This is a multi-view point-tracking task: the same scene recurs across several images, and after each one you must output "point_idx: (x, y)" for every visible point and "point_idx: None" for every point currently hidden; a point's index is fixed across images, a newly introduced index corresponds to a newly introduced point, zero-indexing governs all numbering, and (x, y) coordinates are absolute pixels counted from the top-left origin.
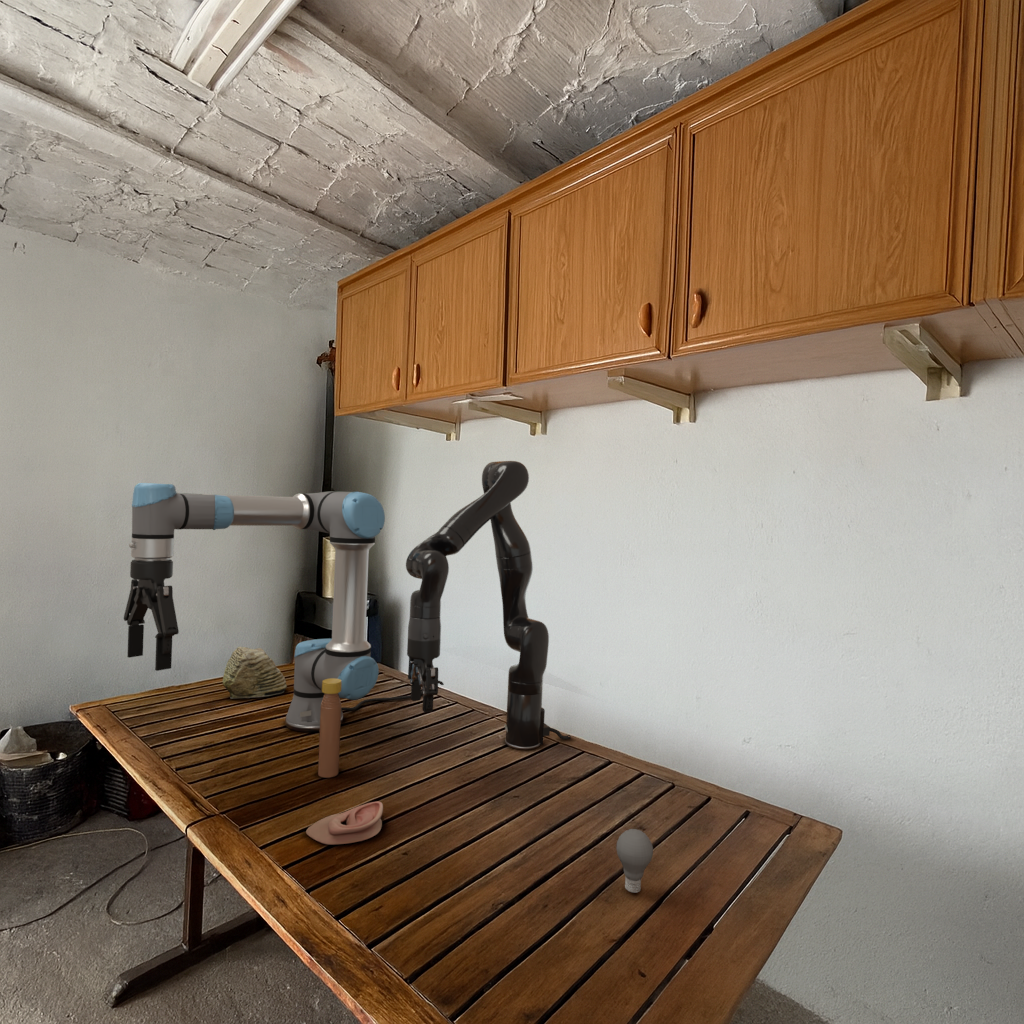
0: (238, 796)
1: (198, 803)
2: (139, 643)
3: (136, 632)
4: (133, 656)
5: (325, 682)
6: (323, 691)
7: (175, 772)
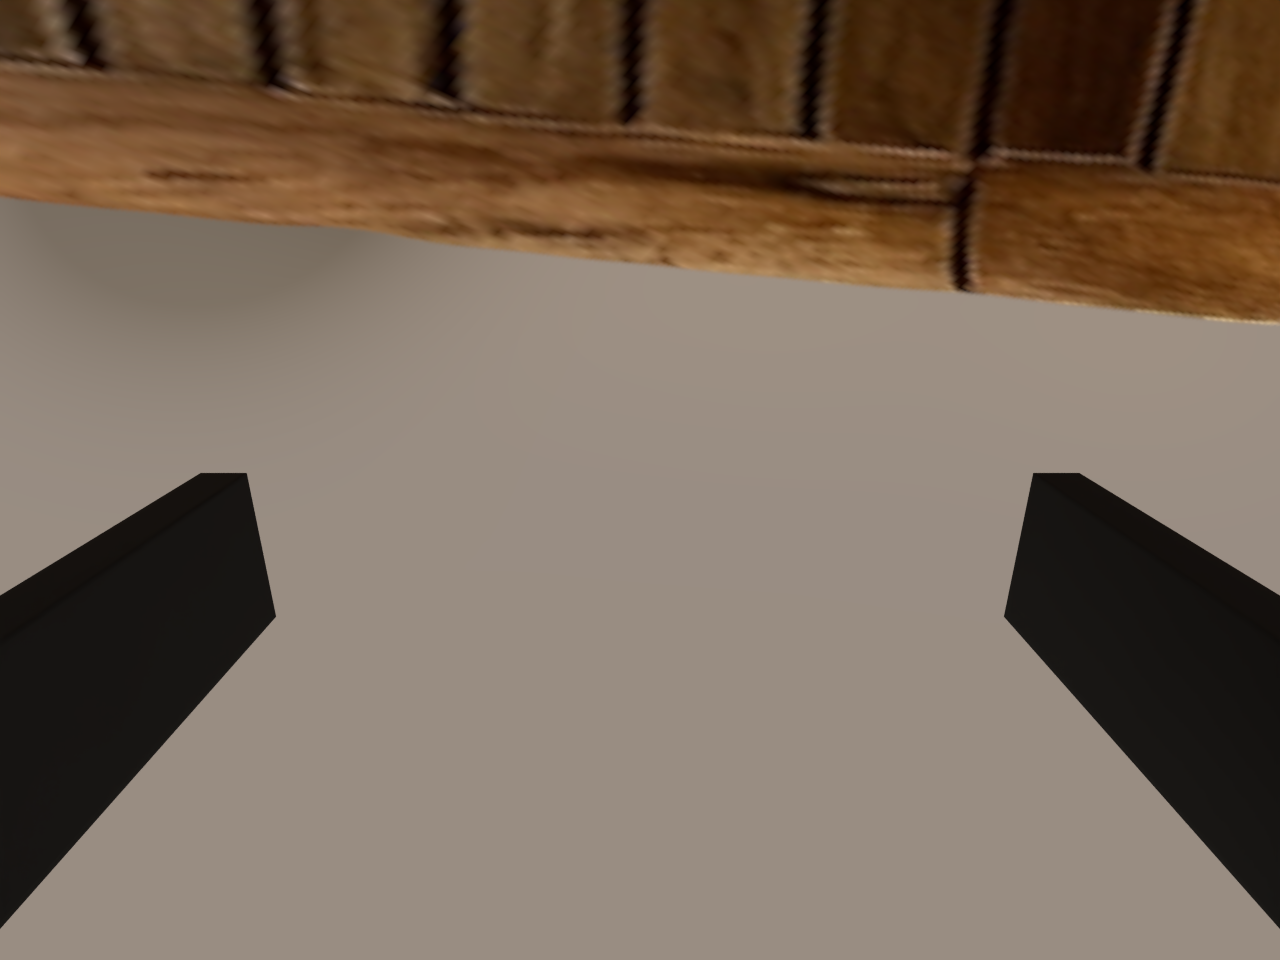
0: (908, 21)
1: (833, 182)
2: (154, 594)
3: (28, 768)
4: (263, 574)
5: None
6: None
7: (475, 113)
